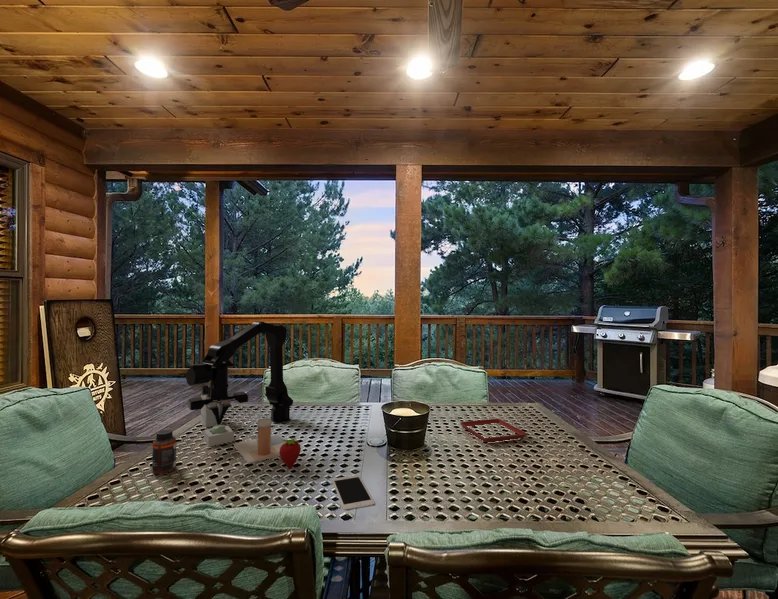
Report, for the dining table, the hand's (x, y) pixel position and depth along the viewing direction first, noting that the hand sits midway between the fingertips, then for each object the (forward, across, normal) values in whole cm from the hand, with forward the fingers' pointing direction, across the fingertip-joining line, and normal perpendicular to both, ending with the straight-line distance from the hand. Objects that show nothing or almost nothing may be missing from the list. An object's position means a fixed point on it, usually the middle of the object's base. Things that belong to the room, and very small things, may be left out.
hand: (218, 424), depth 130 cm
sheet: (+6, -11, +16) cm, 20 cm away
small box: (+6, -2, -21) cm, 22 cm away
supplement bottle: (+6, +18, +15) cm, 24 cm away
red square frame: (+6, -84, +53) cm, 100 cm away
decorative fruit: (+6, -12, +35) cm, 37 cm away
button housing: (+6, 0, 0) cm, 6 cm away
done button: (+4, 0, 0) cm, 4 cm away
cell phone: (+6, -20, +57) cm, 61 cm away
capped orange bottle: (+5, -9, +21) cm, 23 cm away
